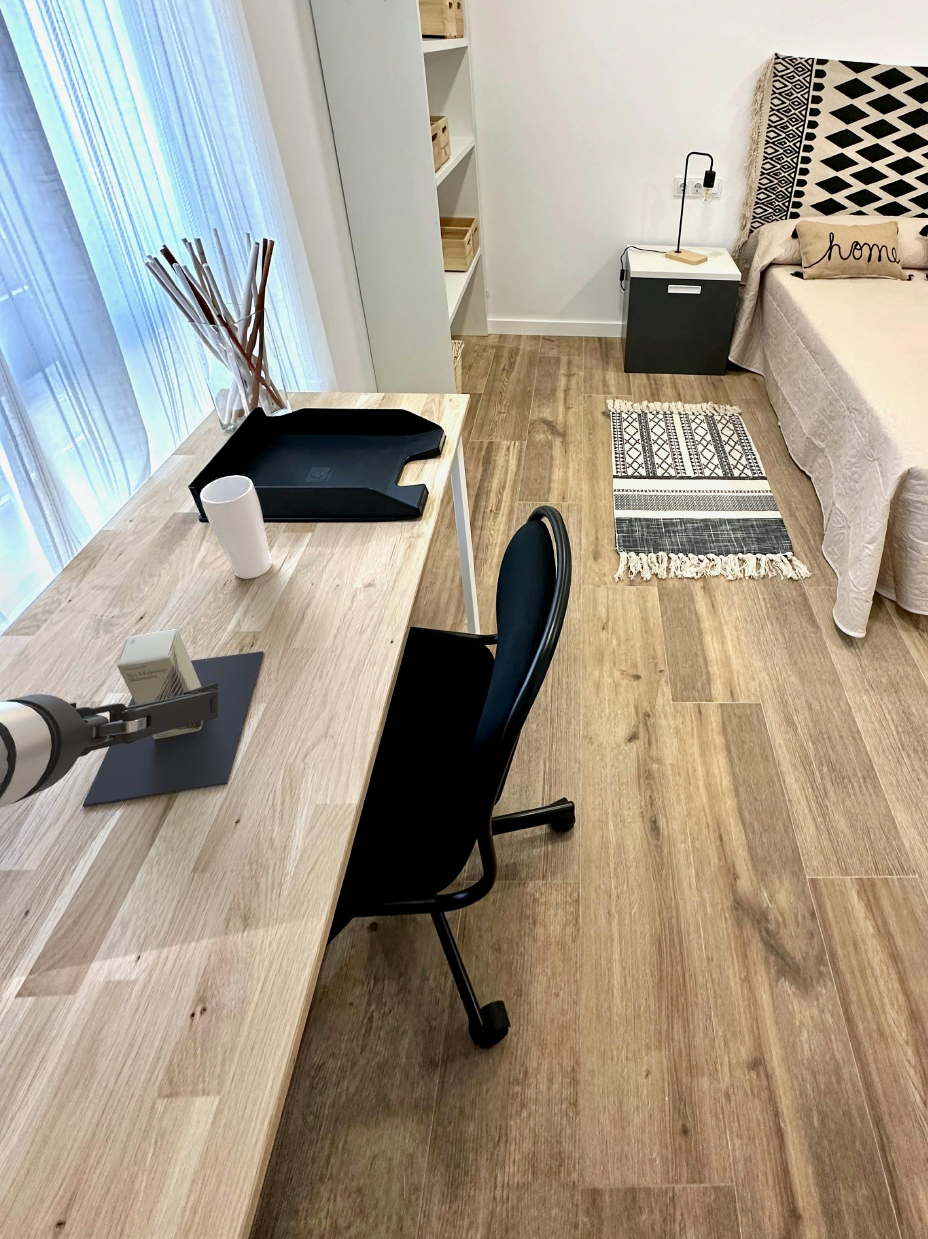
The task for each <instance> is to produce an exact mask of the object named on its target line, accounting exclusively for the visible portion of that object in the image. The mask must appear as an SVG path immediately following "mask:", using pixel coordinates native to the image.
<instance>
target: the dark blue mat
mask: <svg viewBox="0 0 928 1239" xmlns="http://www.w3.org/2000/svg"><path fill="white" fill-rule="evenodd" d="M264 655H265V652H264V650H262V651H261V650H260V651H253V652H246V653H238V654H237V653H236V654H231V655H223V656H215V657H208V658H207V657H206V658H200V659H192V660H191V659H190V660H191V663H192V665H193V668H194V670H195V672H196V675H197V677H198V680H199V682H200V684H201V687H203V686H206V685H209V684H214V683H218V690H219V717H216V718H215V719H211V720H209V719H208V720H205V721H203V724H202V727H201V730H199V731H195V732H191V733H186V734H181V735H176V736H171V737H165V738H159V739H154V738H153V737H152V735H151V736H148V737H145V738H142V739H140V740H137V741H134V743H130V744H127V743H125V744H123V743H121V744H118V745H114V746H110V747H107V748H108V749H107V751H106V754H105V755H104V757H103V759H102V762H101V763H100V766H99V768H98V770H97V772H96V775H95V776H94V779H93V781H92V783H91V786H90V788H89V790H88V792H87V795H86V797H85V799H84V801H83V803H82V807H83V808H87V807H94V806H100V805H101V806H102V805H106V804H113V803H118V802H125V801H132V800H137V799H143V798H151V797H155V796H161V795H162V796H163V795H168V794H175V793H180V792H186V791H187V792H188V791H193V790H200V789H205V788H212V787H218V786H225V785H228V783H229V780H230V776H231V773H232V769H233V765H234V761H235V758H236V754H237V751H238V747H239V744H240V740H241V736H242V733H243V729H244V726H245V723H246V719H247V715H248V711H249V708H250V704H251V701H252V698H253V694H254V690H255V687H256V684H257V680H258V676H259V673H260V669H261V665H262V661H263V659H264ZM133 705H136V703H135V701H134V699H133V697H132V696H131V699H130V700H129V702H128V705H127V707H128V706H133Z"/></svg>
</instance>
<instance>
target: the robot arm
mask: <svg viewBox="0 0 928 1239" xmlns="http://www.w3.org/2000/svg"><path fill="white" fill-rule="evenodd" d="M104 713H108V714H109V715H108V717H107V716H104V715H101V714H104ZM216 717H219V690H218V683H214V684H209V685H206V686H203V687H200V688H197V689H194V690H190V691H187V692H184V693H183V695H182V696H177V697H172V698H167V699H162V700H157V701H152V702H147V703H143V704H138V705H133V706H128V705H127V706H126V705H125V703H120V702H119V703H110V704H105V705H100V706H95V707H90V706H79V707H77V702H72V703H71V702H70V703H69V702H68V701H66V700H65V699H63V698H61V697H58V696H56V695H51V694H44V693H43V694H41V693H38V694H37V693H36V694H30V695H29V694H28V695H25V696H20V697H16V698H15V697H14V698H11V699H6V700H2V701H0V810H1V809H3V808H6V807H7V806H10V805H12V804H13V805H14V804H15V803H18V802H20V801H22V800H25V799H28V798H30V797H31V796H34V795H36V794H38V793H41V792H43V791H45V790H47V789H49V788H50V787H53V786H54V785H56V784H57V783H58V782H60V780H62V779H63V778H64V777H65V776H66V775H67V774H68V773H69V772H70V771H71V770H72V768H73V767H74V765H75V764H76V762H77V761H78V760H79V758H82V757H86V756H88V755H89V754H90V753H91V752H93V751H97V750H101V749H106V748H109V747H110V746H114V745H118V744H121V743H123V744H125V743H127V744H130V743H134V741H137V740H140V739H142V738H145V737H148V736H151V735H154V734H158V733H162V732H165V731H169V730H172V729H176V728H179V727H183V726H187V725H190V724H191V728H192V727H193V728H196V727H197V728H198V727H201V726H202V721H205V720H208V719H209V720H211V719H215V718H216Z"/></svg>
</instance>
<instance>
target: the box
mask: <svg viewBox="0 0 928 1239" xmlns="http://www.w3.org/2000/svg"><path fill="white" fill-rule="evenodd" d="M116 668H118V671H119V673H120V676H121V677H122V679H123V681H124V683H125V685H126V687H127V689H128V691H129V693H130V695H131V698H132V697H133V699H134V701H135V703H136V705H138V704H143V703H147V702H152V701H157V700H162V699H167V698H172V697H177V696H182V695H183V693H184V692H187V691H190V690H194V689H197V688H200V687H201V684H200V682H199V680H198V677H197V675H196V672H195V670H194V668H193V665H192V663H191V658H190V656H189V653H188V650H187V648H186V646H185V643H184V641H183V639H182V636H181V633H180V630H179V629H178V628H171V629H166V630H165V629H164V630H159V631H151V632H147V633H141V634H135V635H129V636H128V637H127V638H126V640H125V643H124V645H123V647H122V650H121V653H120V655H119V658H118V661H117V665H116ZM202 724H203V721H202ZM201 727H202V726H201ZM201 727H198V728H197V727H196V728H193V727H192V728H191V724H190V725H187V726H183V727H179V728H176V729H172V730H169V731H165V732H162V733H158V734H154V735H152V737H153V738H154V739H159V738H165V737H171V736H176V735H181V734H186V733H191V732H195V731H199V730H201Z"/></svg>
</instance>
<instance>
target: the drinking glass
mask: <svg viewBox="0 0 928 1239" xmlns="http://www.w3.org/2000/svg"><path fill="white" fill-rule="evenodd" d="M255 488H256V487H255V486H254V483H253V481H252V480H251V479H250V478H249V477H247V476H243V475H229V476H228V475H227V476H224V477H220V478H217V479H215V480H213V481H211V482H210V483H208V484H207V485H205V486H204V487H203V488H202V489H201V492H200V494H199V497H200V500H201V505H202V508H203V511H204V513H205V516H206V518H207V520H208V523H209V525H210V528H212V530H213V532H214V535H215V536H216V538H217V541H218V542H219V544H220V546H221V548H222V550H223V552H224V554H225V555H226V556H225V557H226V558H227V559H228V561H229V564H230V566H231V569H232V570H233V573H234V575H235V576H236V577H237V578H239V579H244V580H251V579H256V578H258V577H260V576H263V575H264V574H266V573H267V572H268V571H269V570H270V568H271V567H272V565H273V557H272V554H271V551H270V547H269V542H268V537H267V533H266V527H265V523H264V518H263V517H264V516H263V511H262V507H261V503H260V499H259V496H258V494H257V490H256V489H255Z"/></svg>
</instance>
